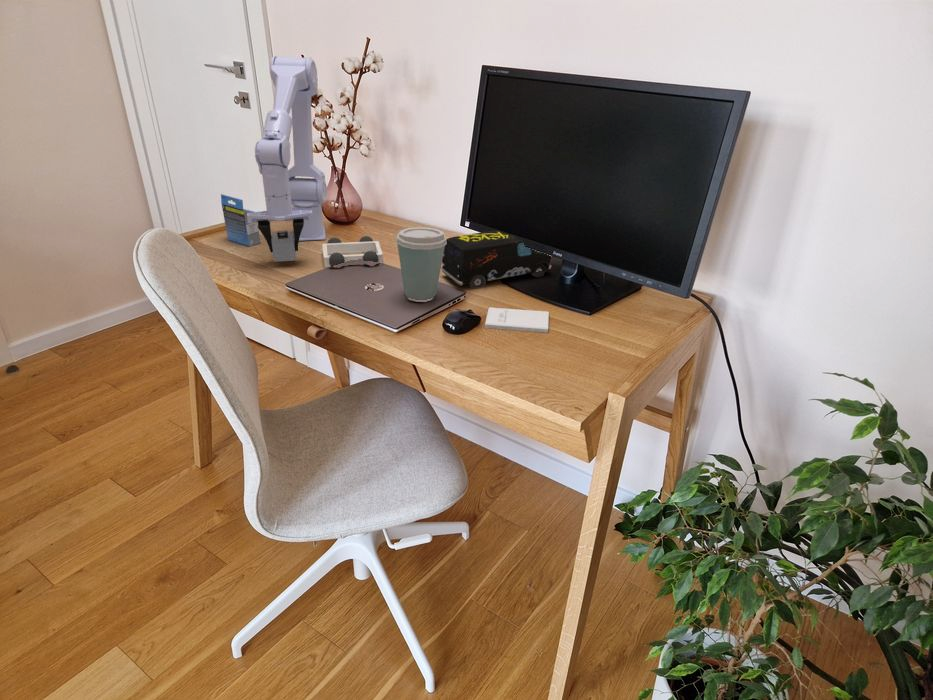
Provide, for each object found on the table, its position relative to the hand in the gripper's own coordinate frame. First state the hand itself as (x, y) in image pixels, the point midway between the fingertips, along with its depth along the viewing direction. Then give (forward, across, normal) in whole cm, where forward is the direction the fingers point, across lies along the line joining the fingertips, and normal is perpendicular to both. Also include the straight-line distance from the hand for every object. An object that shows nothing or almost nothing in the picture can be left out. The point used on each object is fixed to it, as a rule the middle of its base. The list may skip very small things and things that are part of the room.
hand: (284, 250), depth 150 cm
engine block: (+2, 0, 0) cm, 2 cm away
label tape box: (+4, -11, +18) cm, 21 cm away
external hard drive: (+4, +46, -40) cm, 61 cm away
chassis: (+3, +16, +1) cm, 16 cm away
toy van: (+4, +48, -15) cm, 51 cm away
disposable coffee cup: (+3, +29, -25) cm, 39 cm away
